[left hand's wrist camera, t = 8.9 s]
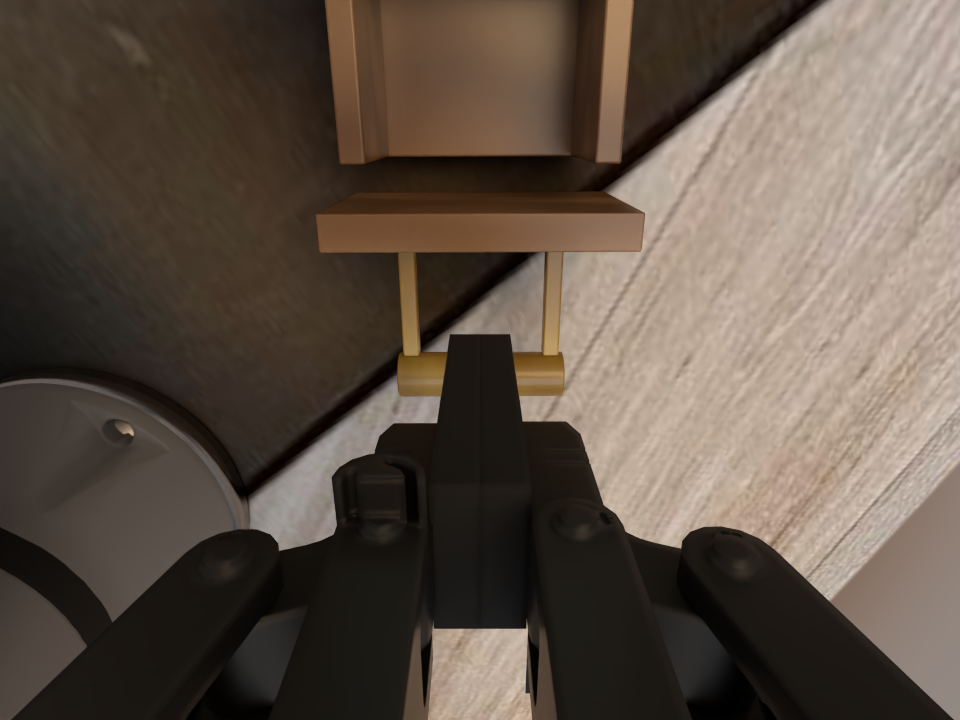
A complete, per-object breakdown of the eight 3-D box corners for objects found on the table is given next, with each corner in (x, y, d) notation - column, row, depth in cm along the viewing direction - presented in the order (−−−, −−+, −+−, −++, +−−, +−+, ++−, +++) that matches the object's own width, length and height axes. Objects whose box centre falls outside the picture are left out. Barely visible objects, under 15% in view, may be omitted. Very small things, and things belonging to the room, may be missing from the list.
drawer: (592, 359, 26) (624, 425, 20) (369, 359, 26) (337, 426, 20) (643, -334, 18) (723, -562, 12) (313, -331, 18) (231, -557, 12)
